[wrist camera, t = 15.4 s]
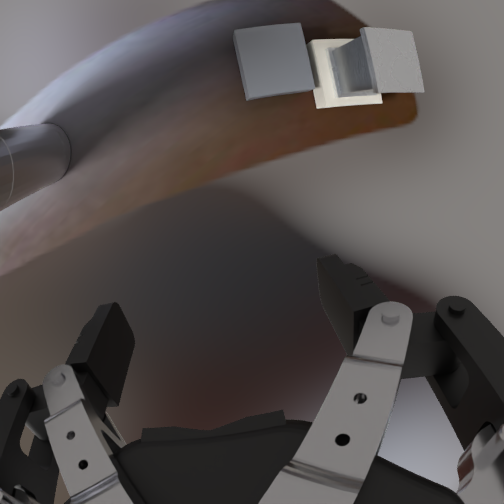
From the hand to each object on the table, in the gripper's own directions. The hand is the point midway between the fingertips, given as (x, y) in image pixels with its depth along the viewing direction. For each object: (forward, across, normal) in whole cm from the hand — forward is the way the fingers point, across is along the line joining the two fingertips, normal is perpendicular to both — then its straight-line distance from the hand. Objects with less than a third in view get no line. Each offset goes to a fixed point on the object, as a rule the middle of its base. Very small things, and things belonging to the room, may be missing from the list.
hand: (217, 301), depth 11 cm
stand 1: (+30, -10, -13) cm, 34 cm away
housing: (+26, -19, -10) cm, 34 cm away
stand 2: (+30, -18, -10) cm, 37 cm away
